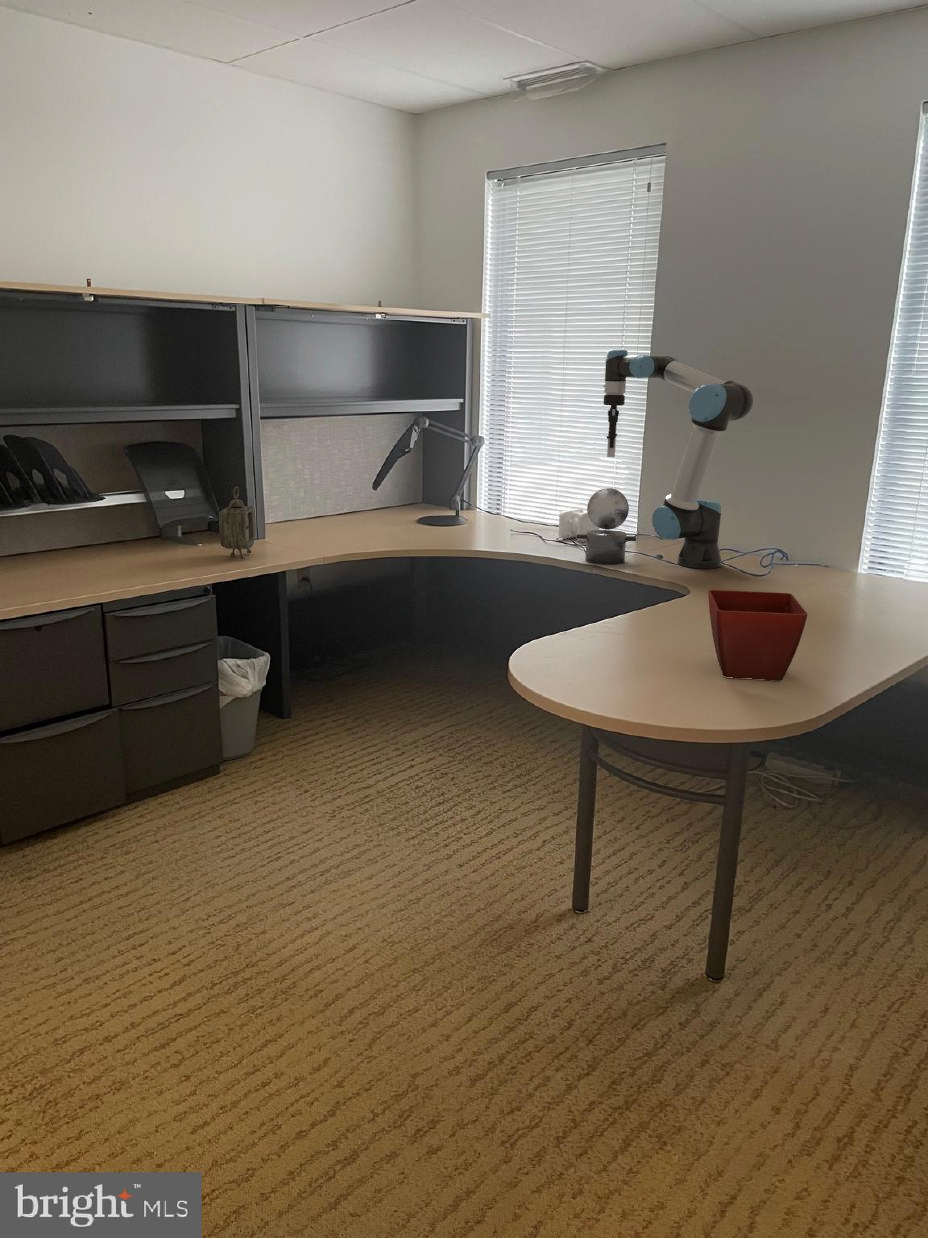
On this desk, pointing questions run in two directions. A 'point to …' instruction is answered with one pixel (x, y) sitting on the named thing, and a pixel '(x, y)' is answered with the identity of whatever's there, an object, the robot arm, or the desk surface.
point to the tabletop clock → (237, 526)
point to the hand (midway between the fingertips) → (610, 455)
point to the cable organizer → (574, 524)
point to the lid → (608, 508)
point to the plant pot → (755, 632)
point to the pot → (605, 546)
